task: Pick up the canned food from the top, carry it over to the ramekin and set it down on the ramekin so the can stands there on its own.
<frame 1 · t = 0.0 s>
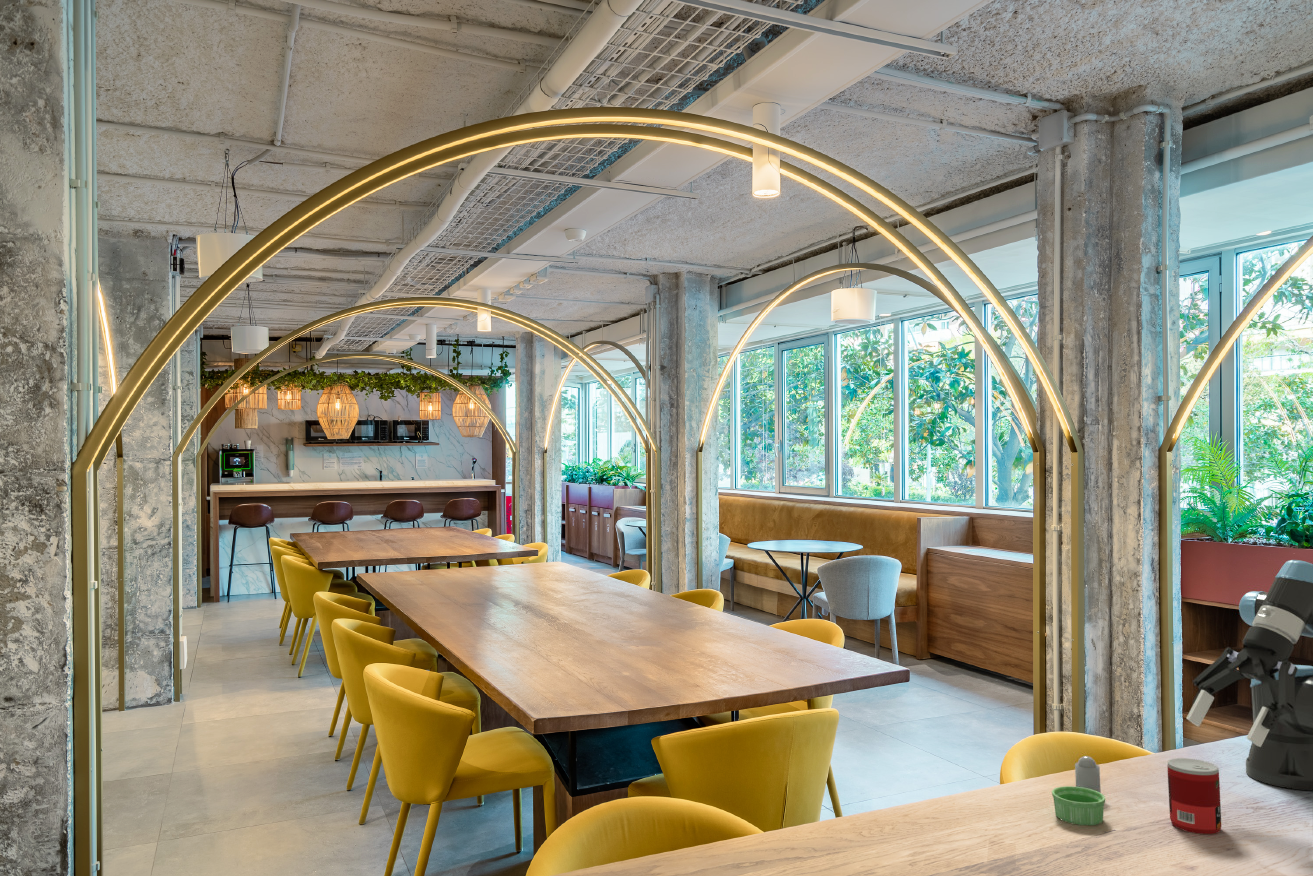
hand: (1221, 732, 165), 15 cm above the table, tool tilted 35°, fingers open, 13 cm apart
canned food: (1195, 827, 160), on the table
ramekin: (1079, 819, 165), on the table
pepper pot: (1088, 796, 176), on the table
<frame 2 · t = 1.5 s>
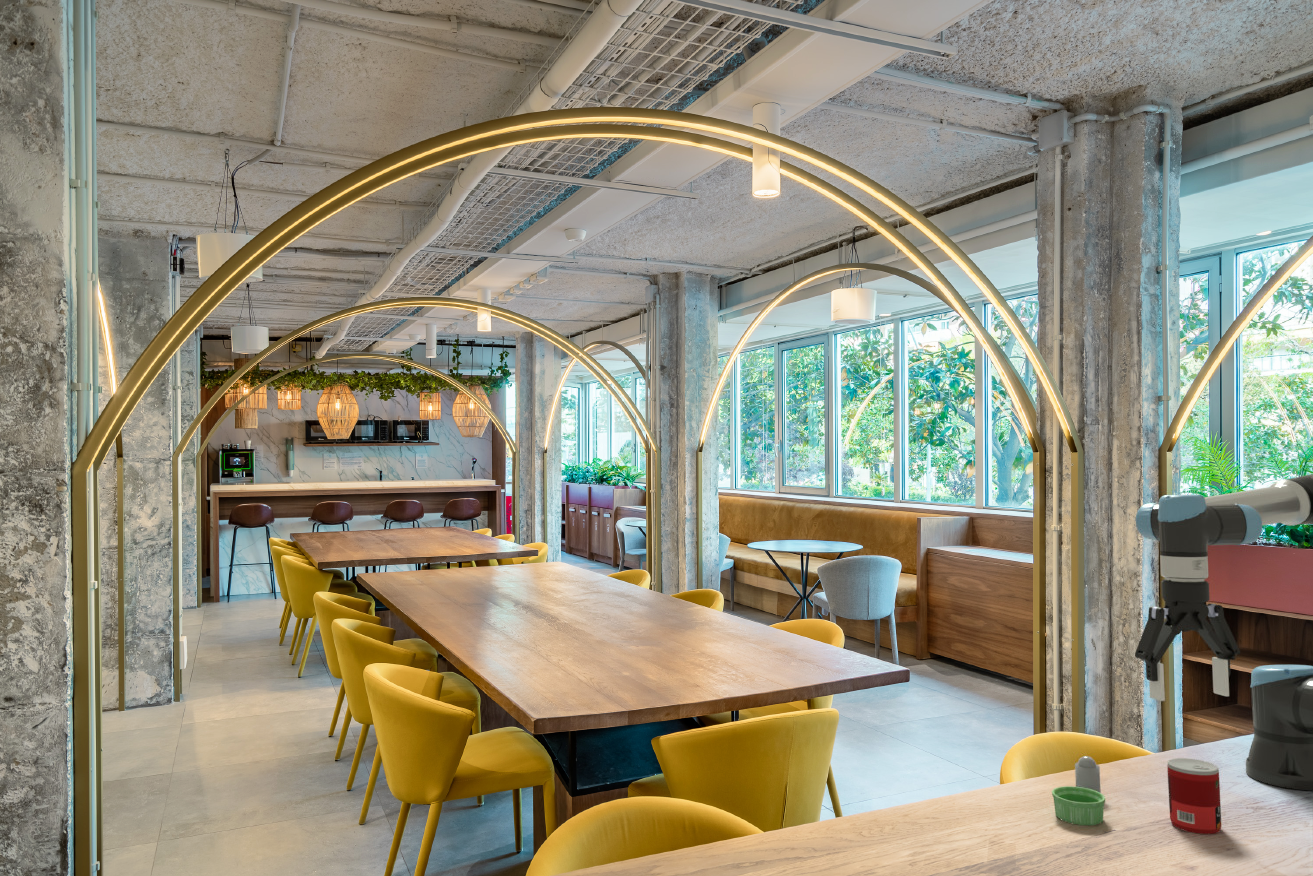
hand: (1189, 697, 161), 23 cm above the table, tool pointing down, fingers open, 13 cm apart
nothing on the table moved.
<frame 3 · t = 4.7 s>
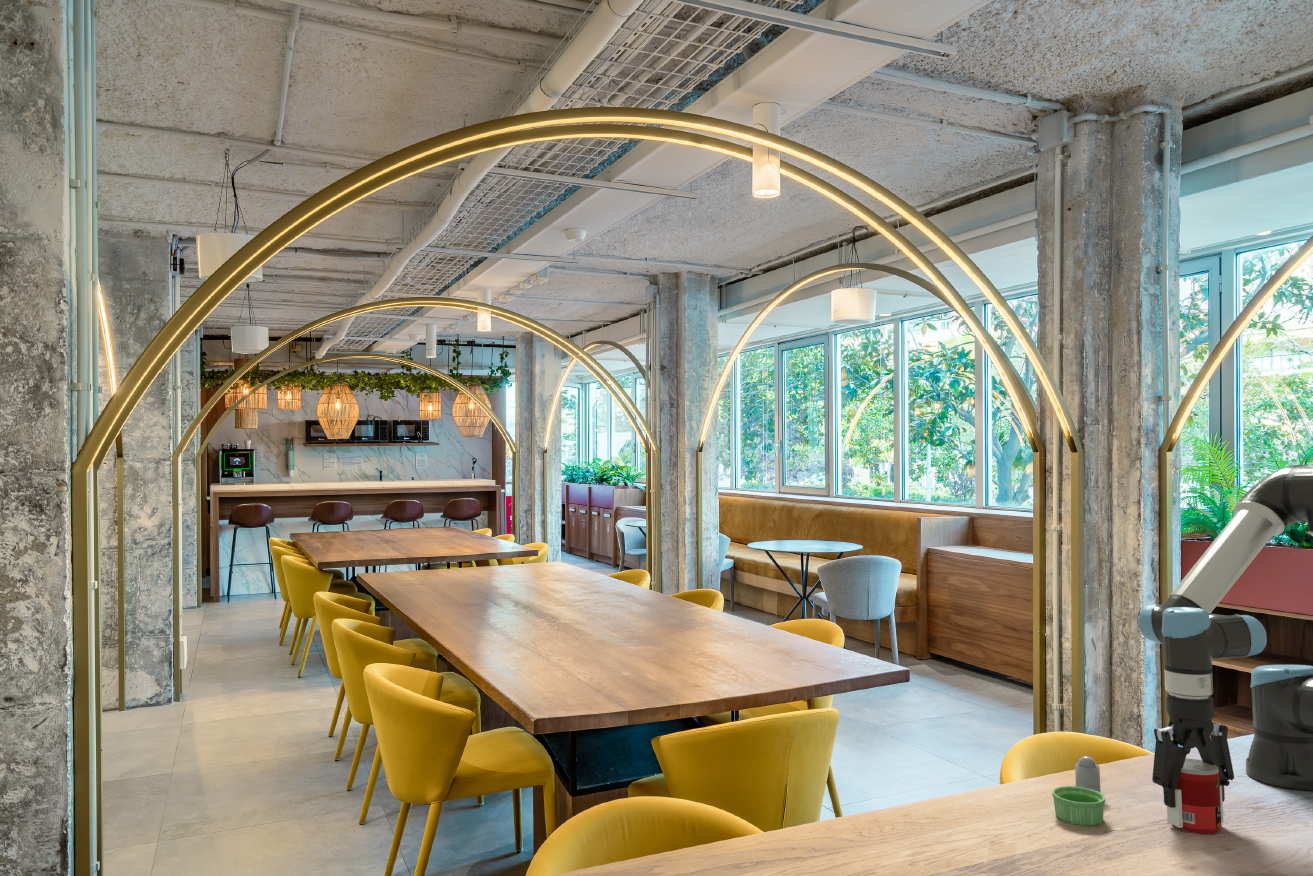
hand: (1195, 822, 160), 1 cm above the table, tool pointing down, fingers closed on canned food, 8 cm apart
canned food: (1195, 827, 160), on the table, touching gripper
everything else where it was.
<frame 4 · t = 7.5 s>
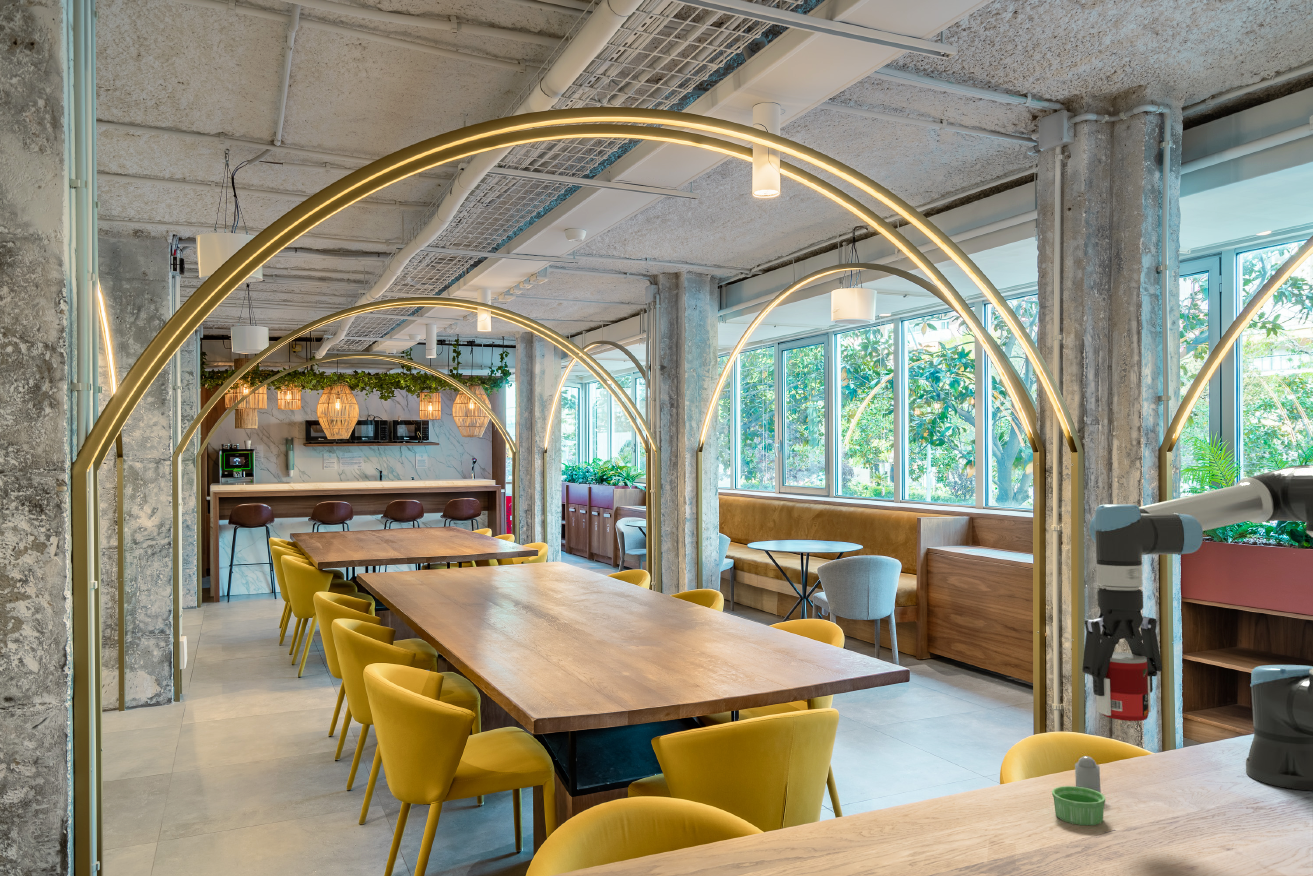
hand: (1123, 711, 164), 20 cm above the table, tool pointing down, fingers closed on canned food, 8 cm apart
canned food: (1124, 717, 164), point 19 cm above the table, touching gripper
everything else where it was.
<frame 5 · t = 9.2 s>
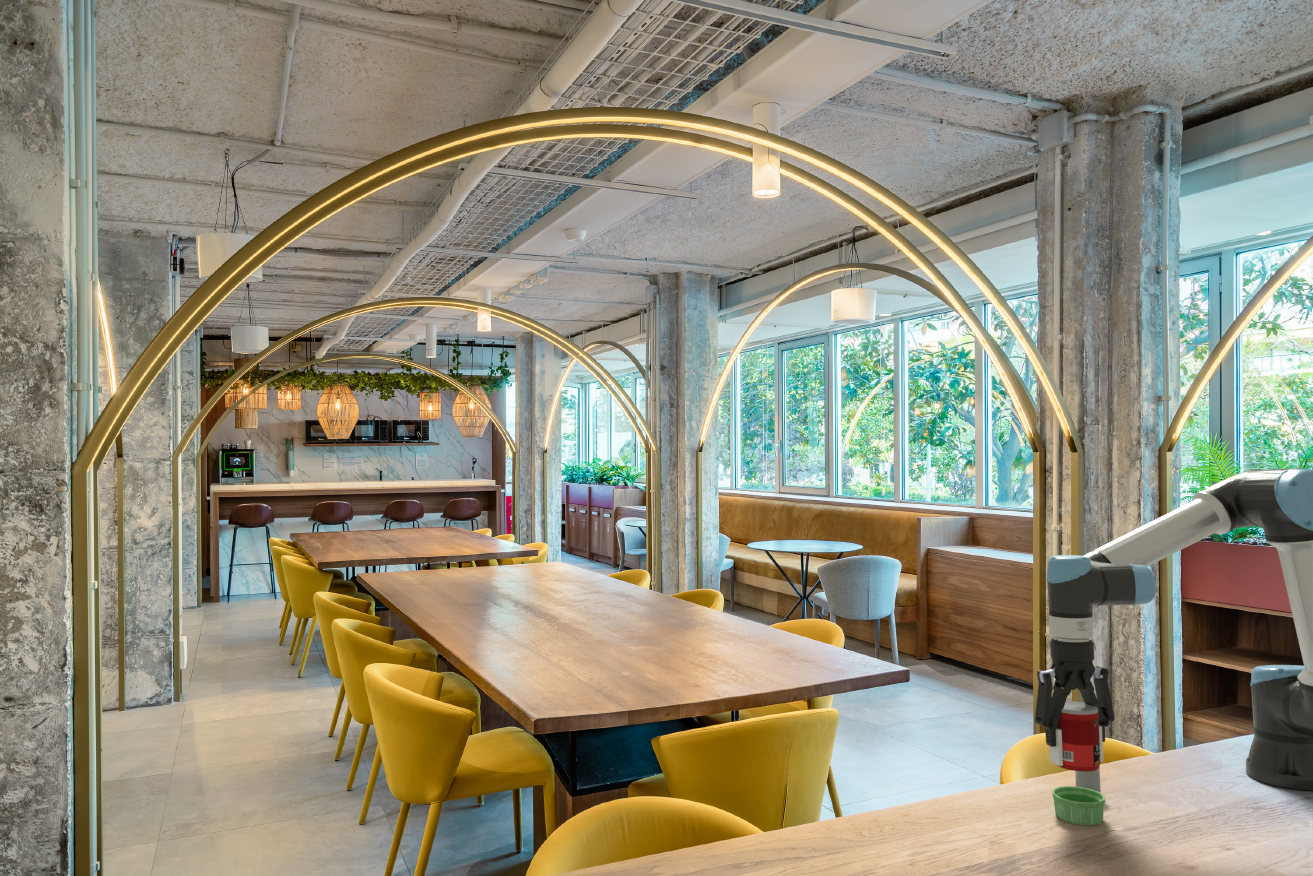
hand: (1076, 761, 166), 10 cm above the table, tool pointing down, fingers closed on canned food, 8 cm apart
canned food: (1076, 766, 166), point 9 cm above the table, touching gripper
everything else where it was.
when the fingers open (7 cm above the table, at t = 10.7 s): canned food drops 2 cm, resting on ramekin.
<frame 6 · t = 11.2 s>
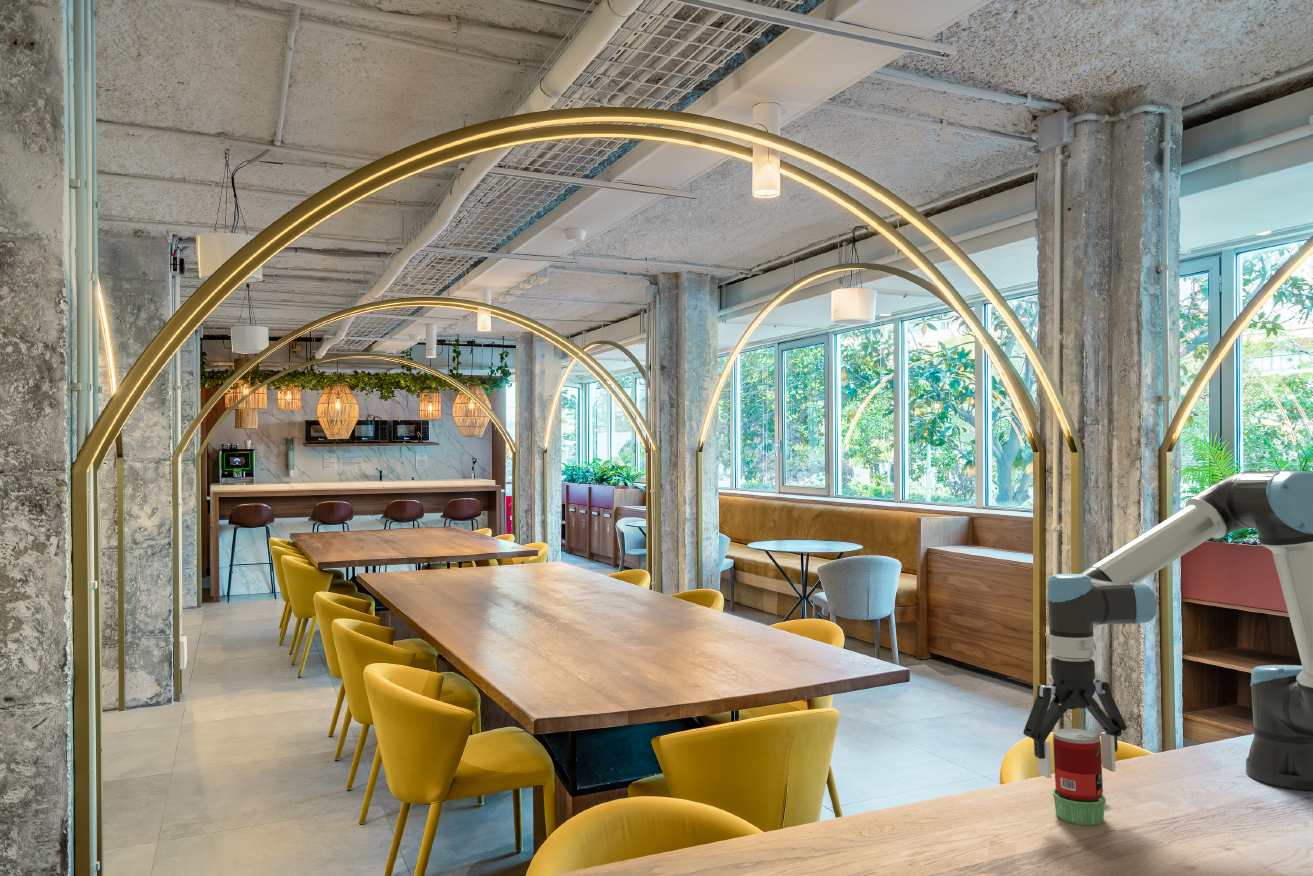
hand: (1077, 772, 166), 8 cm above the table, tool pointing down, fingers open, 13 cm apart
canned food: (1079, 794, 165), point 4 cm above the table, touching ramekin
ramekin: (1079, 819, 165), on the table, touching canned food
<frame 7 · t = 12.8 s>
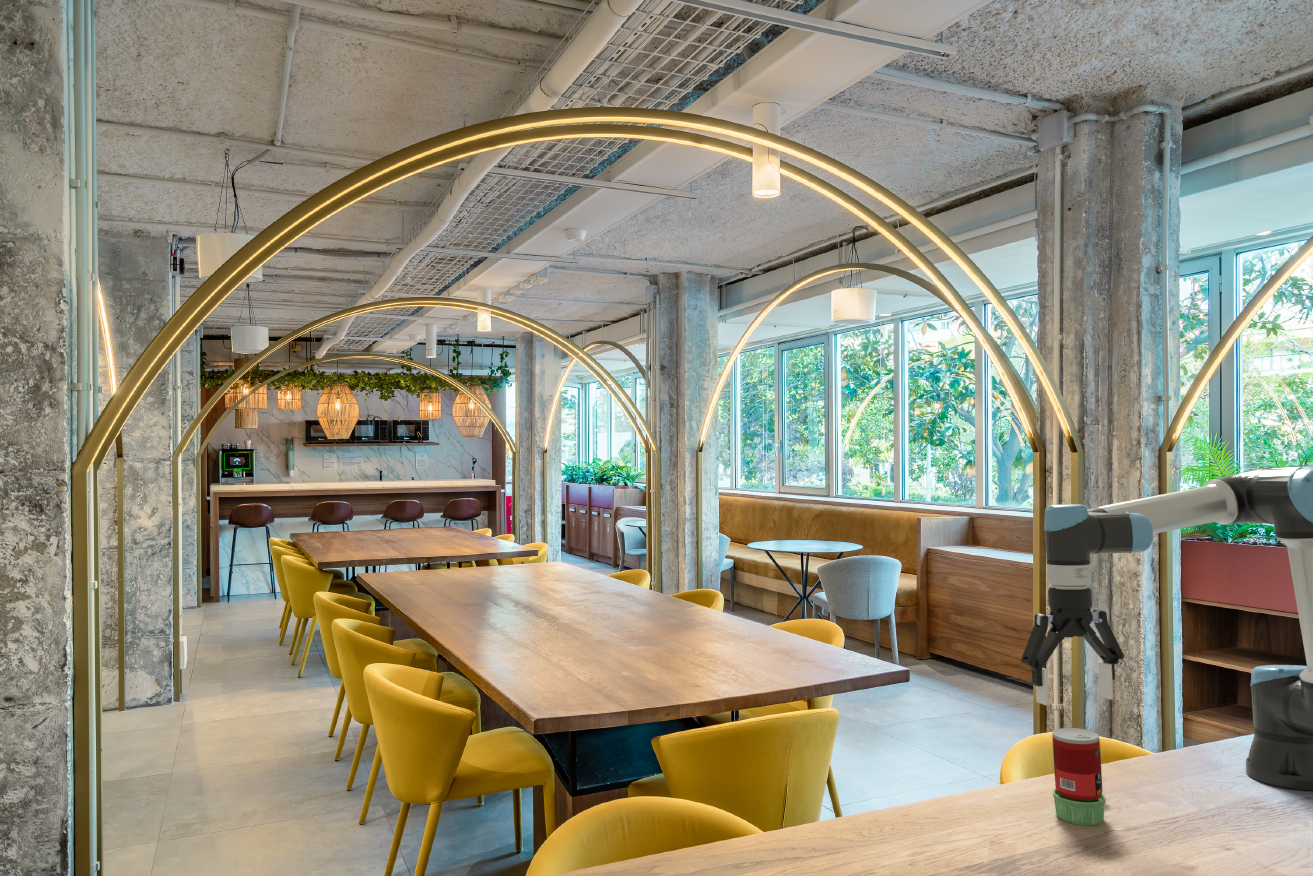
hand: (1074, 700, 166), 21 cm above the table, tool pointing down, fingers open, 13 cm apart
nothing on the table moved.
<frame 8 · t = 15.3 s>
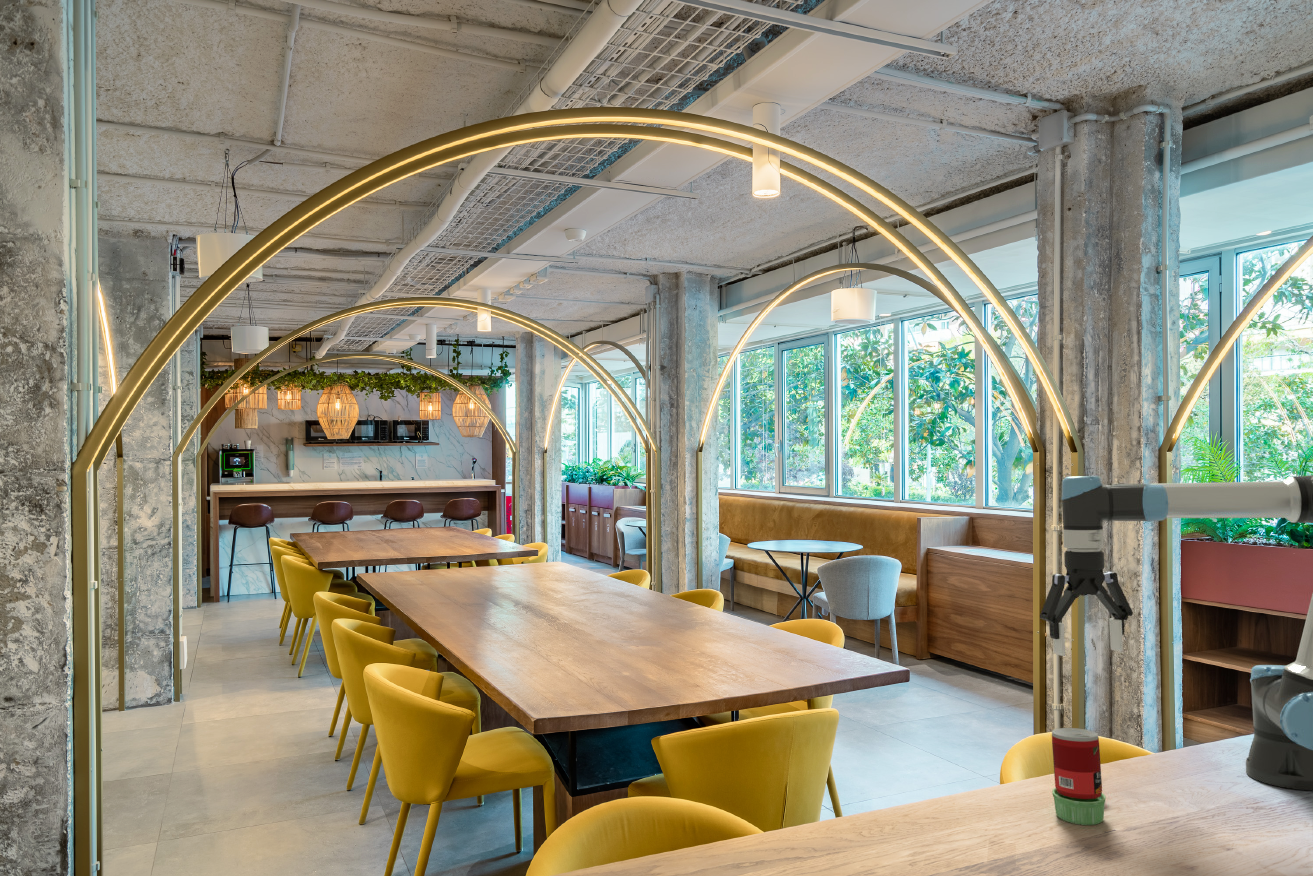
hand: (1088, 652, 184), 27 cm above the table, tool pointing down, fingers open, 13 cm apart
nothing on the table moved.
at the end: canned food 0.1 cm from the ramekin (horizontally); canned food point 4.3 cm above the table; canned food tilted 3° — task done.
